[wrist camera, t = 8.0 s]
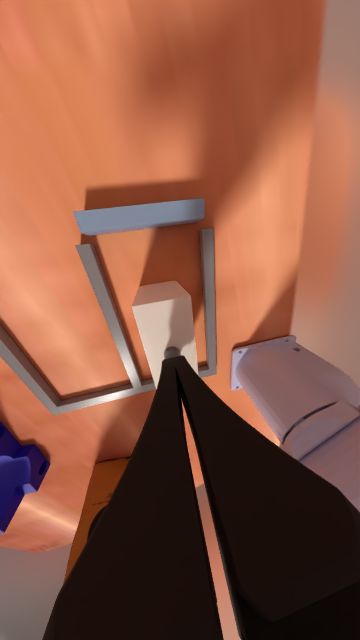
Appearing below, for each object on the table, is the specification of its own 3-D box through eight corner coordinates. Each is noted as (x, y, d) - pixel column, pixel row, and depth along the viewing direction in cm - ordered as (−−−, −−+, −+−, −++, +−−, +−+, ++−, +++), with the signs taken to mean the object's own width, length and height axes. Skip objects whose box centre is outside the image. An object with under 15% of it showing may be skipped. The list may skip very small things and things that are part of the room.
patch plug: (175, 279, 14) (198, 303, 7) (184, 345, 18) (205, 401, 11) (139, 286, 14) (127, 316, 7) (155, 351, 17) (158, 413, 10)
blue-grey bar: (197, 204, 12) (204, 197, 10) (198, 222, 12) (204, 217, 11) (83, 217, 11) (73, 211, 9) (90, 235, 11) (81, 232, 10)
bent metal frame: (209, 228, 13) (213, 227, 12) (214, 369, 20) (216, 374, 19) (-65, 264, 10) (-81, 265, 10) (57, 408, 18) (53, 415, 17)
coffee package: (148, 450, 26) (139, 1071, 6) (146, 480, 31) (139, 878, 11) (87, 460, 24) (-220, 1460, 4) (96, 491, 29) (-22, 1007, 9)
